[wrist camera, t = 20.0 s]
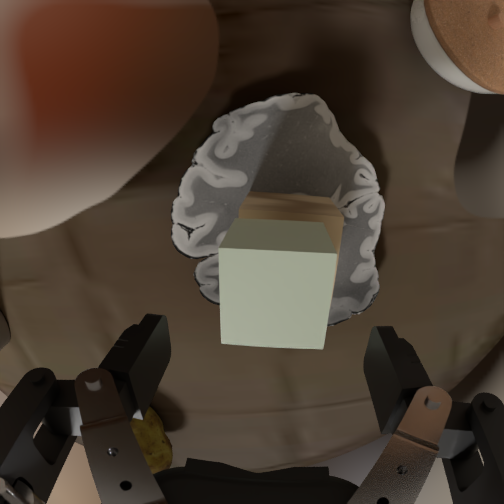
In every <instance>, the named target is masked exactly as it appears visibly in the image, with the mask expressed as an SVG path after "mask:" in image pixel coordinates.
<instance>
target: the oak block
mask: <svg viewBox="0 0 504 504" xmlns="http://www.w3.org/2000/svg"><path fill="white" fill-rule="evenodd" d="M239 218H245V219H268V220H289V221H308V222H323V223H324V225H325V228H326V230H327V232H328V234H329V236H330V239H331V241H332V243H333V245H334V248H335V250H336V252H337V260H336V268H335V275H334V283H335V277H336V271H337V265H338V258H339V252H340V245H341V238H342V230H343V223H344V216H343V215H342V214H341V212H340V211H339V210H338V208H337V207H336V206H335V204H334V203H333V202H332V200H331V199H330V198H329V197H319V196H307V195H295V194H282V193H268V192H253V191H249V193H248V194H247V196H246V198H245V199H244V201H243V203H242V204H241V206H240V208H239ZM334 283H333V289H334ZM332 295H333V290H332ZM331 300H332V297H331ZM330 306H331V304H330Z"/></svg>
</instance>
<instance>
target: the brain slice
mask: <svg viewBox="0 0 504 504" xmlns="http://www.w3.org/2000/svg"><path fill="white" fill-rule="evenodd" d="M212 129H213V133H212V134H211V135H209V136H208V137H207V138H206V139H205V141H204V142H203V143H202V144H201V146H200V147H199V148H198V149H197V150H196V151H195V153H194V157H193V159H192V163H193V164H192V166H191V167H190V168H189V169H187V170H186V172H185V173H184V175H183V176H182V179H181V182H180V185H179V188H178V197H177V198H176V199H175V200H174V202H173V204H172V210H171V220H172V223H173V225H172V229H171V237H172V242H173V245H174V247H175V248H176V250H177V251H178V252H179V253H181V254H182V255H184V256H186V257H188V258H191V259H199V258H204V257H207V258H205V259H203V260H202V261H201V262H199V264H198V265H197V267H196V269H195V272H194V277H195V281H196V282H197V284H198V285H199V287H200V292H201V294H202V296H203V297H204V298H206V299H207V300H208V301H209V302H211V303H213V304H217V305H220V292H219V252H218V248H219V246H220V244H221V242H222V241H223V239H224V237H225V235H226V233H227V232H228V230H229V228H230V226H231V225H232V223H233V221H234V219H235V218H239V208H240V206H241V204H242V203H243V201H244V199H245V198H246V196H247V194H248V193H249V191H253V192H268V193H282V194H295V195H307V196H319V197H329V198H330V199H331V200H332V202H333V203H334V204H335V206H336V207H337V208H338V210H339V211H340V212H341V214H342V215H343V216H344V223H343V230H342V238H341V245H340V252H339V258H338V265H337V271H336V277H335V283H334V289H333V295H332V300H331V306H330V310H329V317H328V323H327V326H332V325H336V324H338V323H340V322H343V321H345V320H348V319H349V318H350V317H351V315H352V314H360V313H362V312H363V311H365V310H366V309H367V308H369V307H370V306H371V305H372V303H373V302H374V300H375V299H376V297H377V295H378V292H379V287H380V286H379V283H378V277H379V276H378V271H377V269H376V265H375V254H374V251H375V248H376V245H377V242H378V239H379V235H380V231H381V222H382V220H383V217H384V210H385V203H384V199H383V196H382V195H380V194H378V192H379V190H380V186H379V184H378V180H377V176H376V173H375V169H374V166H373V165H372V164H371V163H370V162H369V161H368V160H367V159H366V158H365V157H363V156H362V154H361V153H360V152H359V151H358V150H357V148H356V147H355V146H354V145H353V144H352V143H350V142H348V141H347V140H346V138H345V137H344V136H343V134H342V133H341V132H340V131H339V128H338V125H337V122H336V119H335V116H334V114H333V113H332V112H331V111H330V110H329V109H328V107H327V105H326V103H325V101H323V100H322V99H321V98H320V97H319V96H317V95H315V94H312V93H289V94H281V95H275V96H272V97H268V98H267V99H265V100H263V101H259V102H255V103H252V104H249V105H246V106H243V107H240V108H238V109H235V110H233V111H230V112H229V114H226V115H223V116H221V117H219V118H218V119H217V120H216V121H215V122H214V123H213V127H212ZM208 256H210V257H208Z"/></svg>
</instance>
